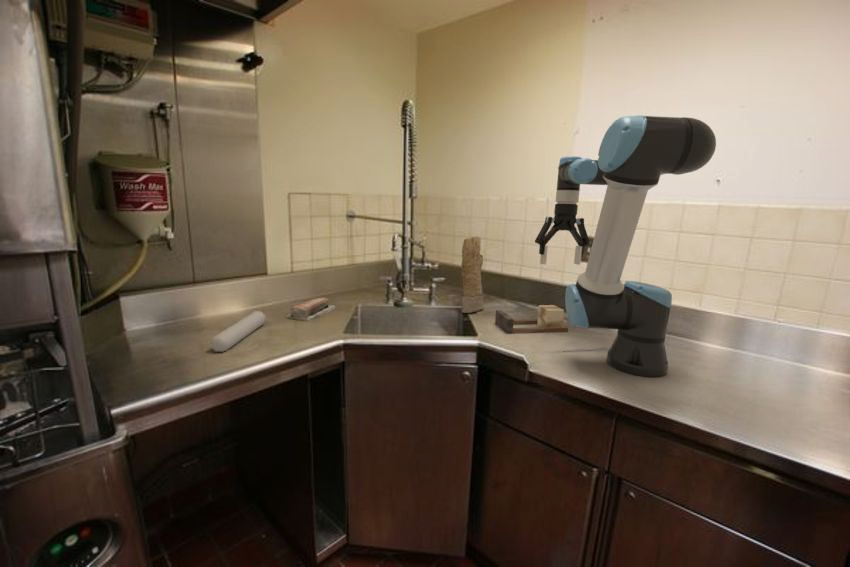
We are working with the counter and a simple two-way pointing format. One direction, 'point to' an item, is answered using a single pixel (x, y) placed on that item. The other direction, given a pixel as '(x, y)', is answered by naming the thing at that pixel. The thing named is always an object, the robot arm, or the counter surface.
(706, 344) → the counter surface
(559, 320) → the block
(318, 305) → the packaged product
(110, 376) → the counter surface
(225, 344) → the tube
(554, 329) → the guide channel
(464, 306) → the glove
